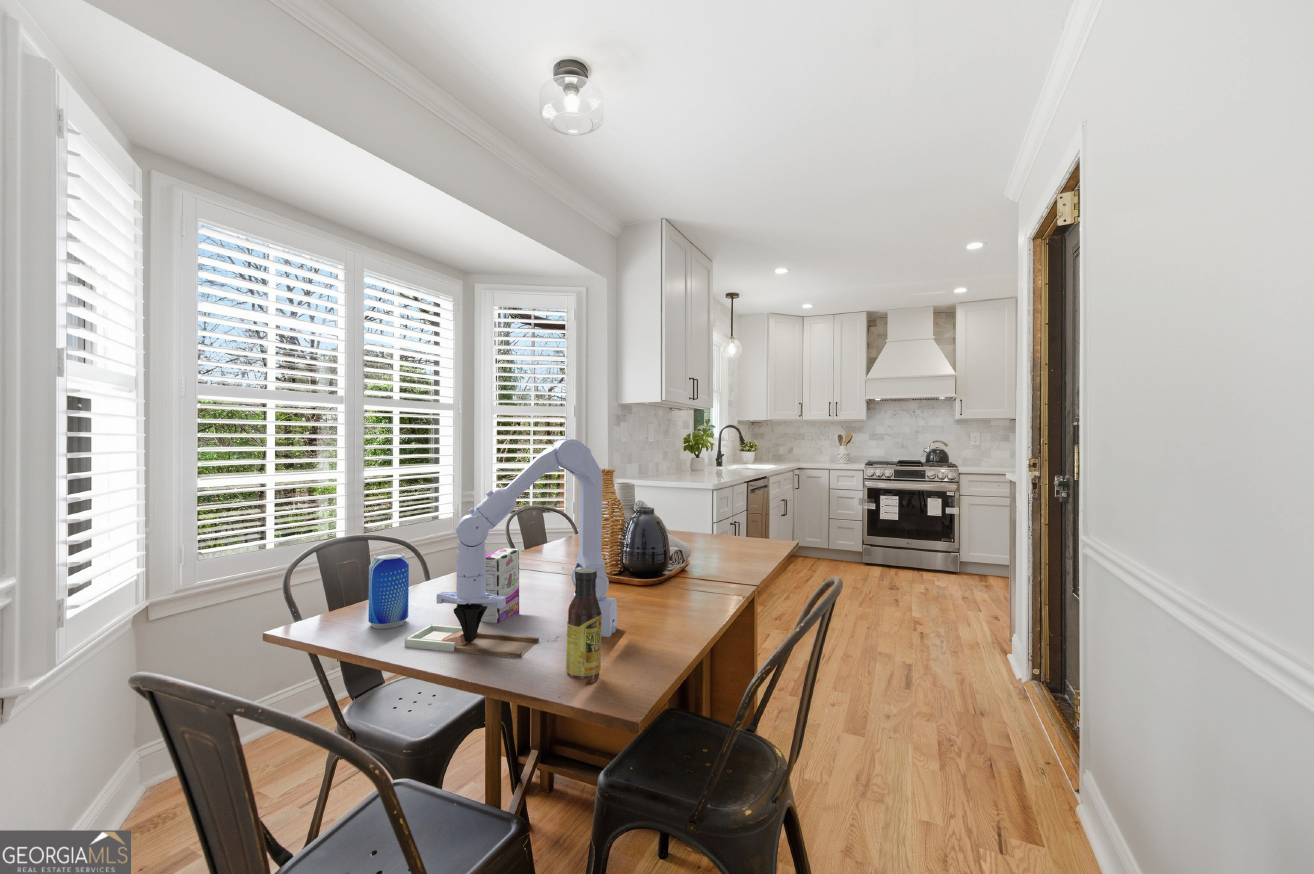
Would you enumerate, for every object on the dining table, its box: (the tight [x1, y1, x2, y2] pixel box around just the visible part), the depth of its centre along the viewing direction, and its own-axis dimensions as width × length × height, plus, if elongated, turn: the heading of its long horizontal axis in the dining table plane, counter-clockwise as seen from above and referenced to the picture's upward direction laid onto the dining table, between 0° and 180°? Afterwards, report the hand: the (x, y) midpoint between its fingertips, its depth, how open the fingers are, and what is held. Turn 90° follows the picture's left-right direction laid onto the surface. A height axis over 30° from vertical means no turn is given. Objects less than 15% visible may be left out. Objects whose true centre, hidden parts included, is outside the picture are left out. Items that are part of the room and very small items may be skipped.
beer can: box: [367, 552, 410, 630], centre depth 132 cm, size 8×8×16 cm
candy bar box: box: [480, 547, 520, 624], centre depth 135 cm, size 11×5×16 cm, turn 168°
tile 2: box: [442, 631, 467, 646], centre depth 117 cm, size 4×4×2 cm
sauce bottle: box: [565, 568, 602, 686], centre depth 104 cm, size 6×6×20 cm
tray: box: [404, 624, 466, 652], centre depth 118 cm, size 11×9×3 cm
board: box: [453, 631, 540, 659], centre depth 115 cm, size 14×9×2 cm, turn 78°
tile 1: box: [421, 631, 453, 641], centre depth 118 cm, size 4×4×2 cm
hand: (470, 640), depth 116 cm, fingers closed
